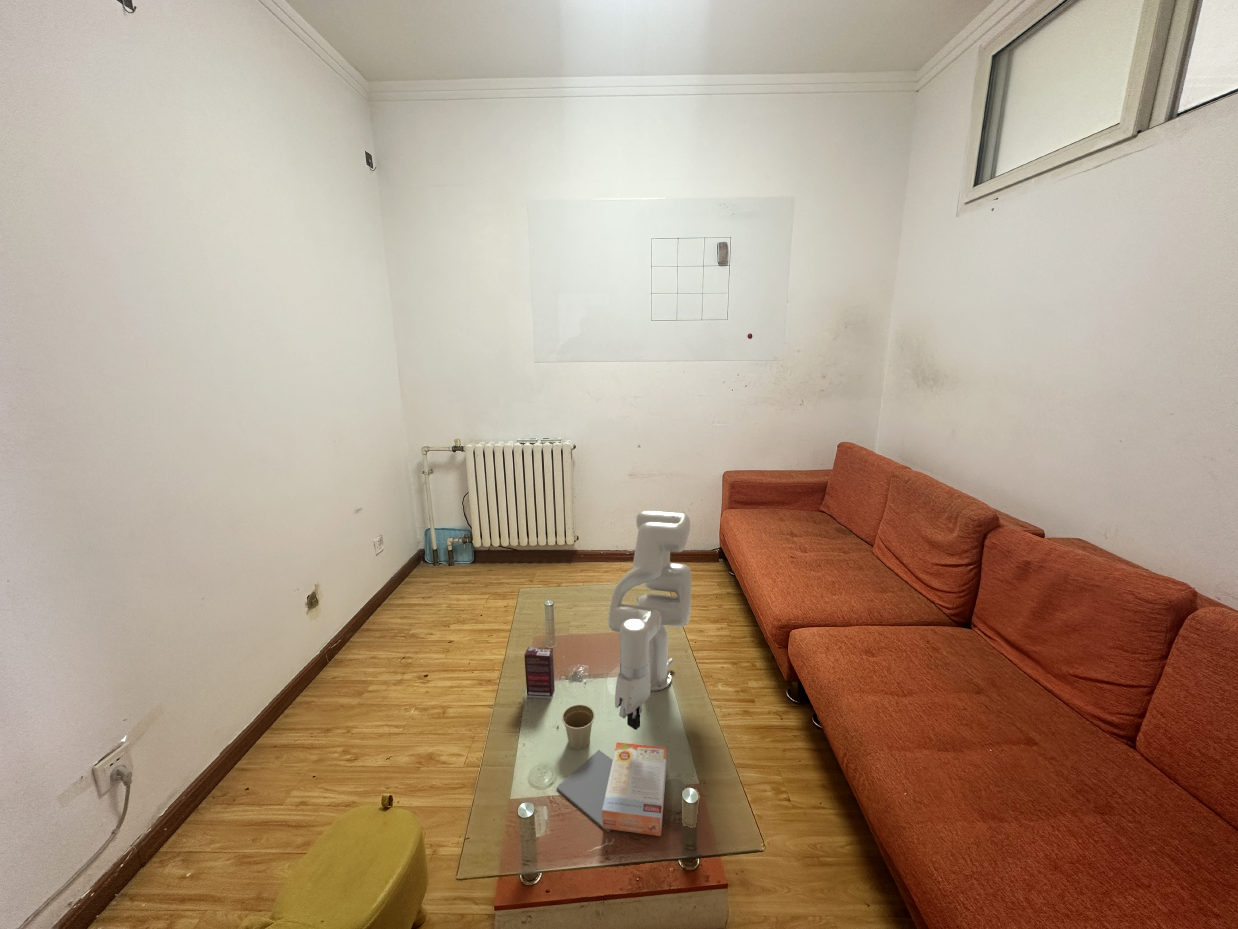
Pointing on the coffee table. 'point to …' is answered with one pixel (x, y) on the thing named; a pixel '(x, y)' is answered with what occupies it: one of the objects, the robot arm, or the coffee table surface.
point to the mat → (589, 786)
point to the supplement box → (539, 672)
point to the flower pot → (578, 725)
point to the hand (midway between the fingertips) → (633, 725)
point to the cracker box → (636, 789)
